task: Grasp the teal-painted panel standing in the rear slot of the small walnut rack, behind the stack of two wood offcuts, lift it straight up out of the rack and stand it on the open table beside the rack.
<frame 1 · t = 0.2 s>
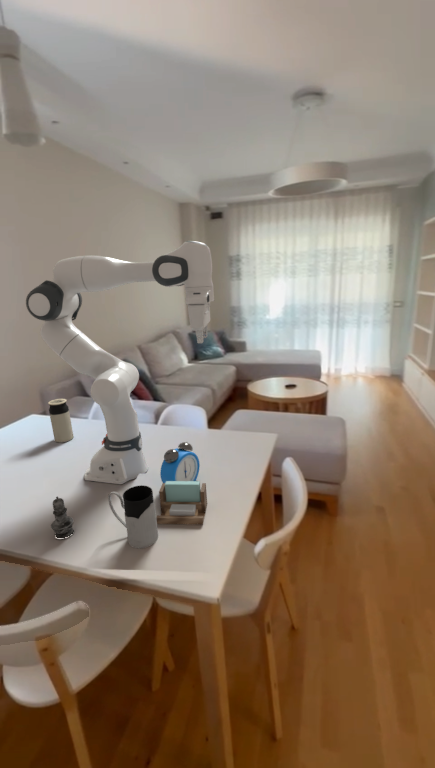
hand: (202, 340, 122), 47 cm above the table, tool pointing down, fingers open, 8 cm apart
panel: (184, 508, 112), point 1 cm above the table, touching rack
oak offcut: (181, 517, 108), point 1 cm above the table, touching grey offcut, rack
dark grey figurine: (64, 534, 106), on the table
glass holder: (135, 540, 102), on the table
travel mug: (64, 439, 170), on the table
grey offcut: (183, 512, 107), point 3 cm above the table, touching oak offcut
rack: (183, 517, 110), on the table
alarm clock: (181, 488, 126), on the table
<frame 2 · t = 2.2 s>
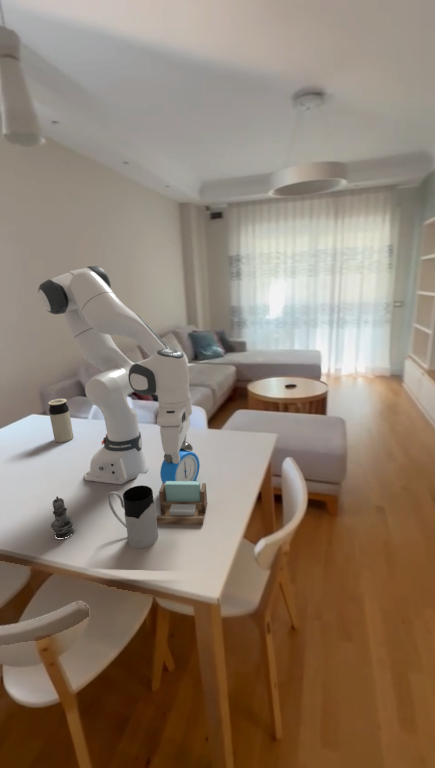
hand: (180, 454, 107), 19 cm above the table, tool pointing down, fingers open, 8 cm apart
nothing on the table moved.
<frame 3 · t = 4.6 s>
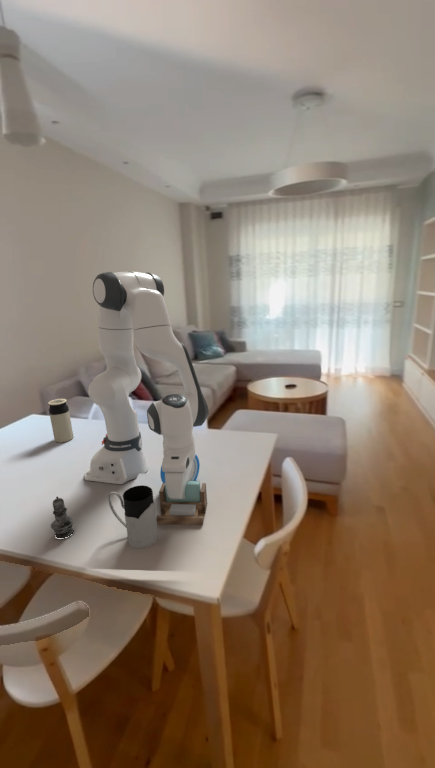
hand: (183, 494, 111), 6 cm above the table, tool pointing down, fingers closed on panel, 2 cm apart
panel: (184, 508, 112), point 2 cm above the table, touching gripper, rack
everything else where it was.
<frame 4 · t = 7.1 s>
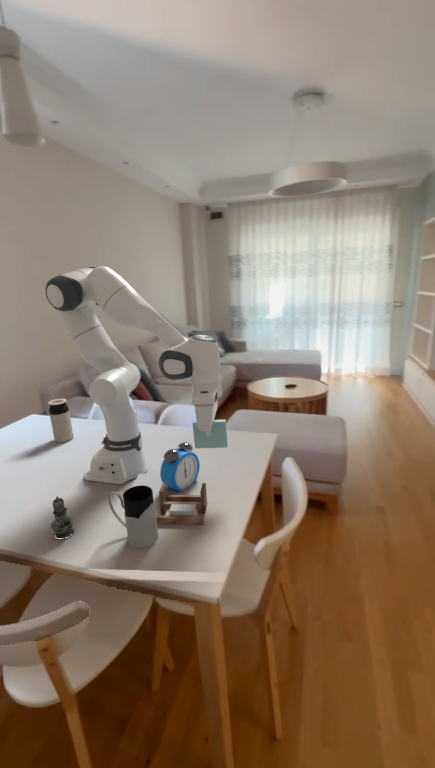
hand: (209, 432, 116), 21 cm above the table, tool pointing down, fingers closed on panel
panel: (211, 446, 117), point 16 cm above the table, touching gripper
everything else where it was.
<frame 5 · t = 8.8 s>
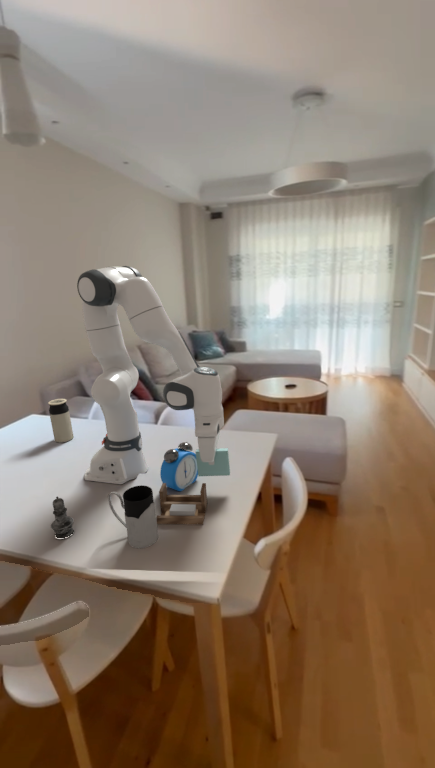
hand: (212, 461, 119), 11 cm above the table, tool pointing down, fingers closed on panel
panel: (214, 474, 120), point 7 cm above the table, touching gripper
everything else where it was.
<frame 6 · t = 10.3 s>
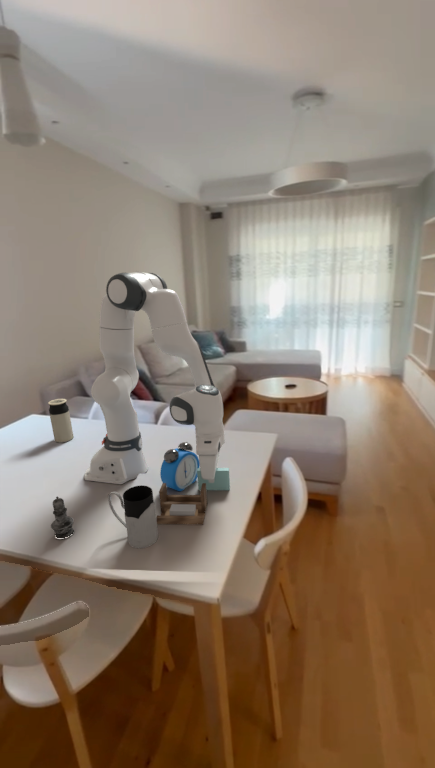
hand: (212, 477, 120), 6 cm above the table, tool pointing down, fingers open, 4 cm apart
panel: (214, 492, 122), on the table
everything else where it was.
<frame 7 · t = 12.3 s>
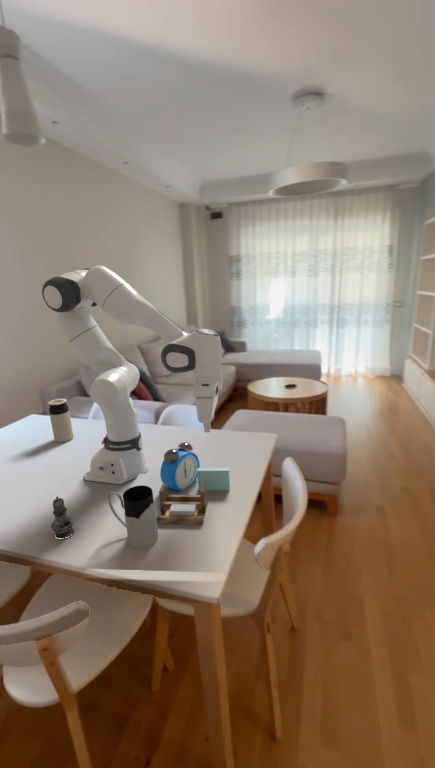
hand: (209, 425, 118), 22 cm above the table, tool pointing down, fingers open, 8 cm apart
nothing on the table moved.
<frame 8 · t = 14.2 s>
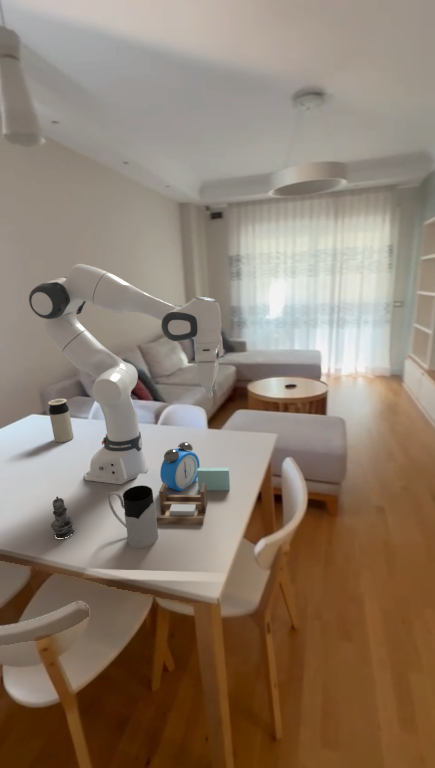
hand: (211, 392, 122), 31 cm above the table, tool pointing down, fingers open, 8 cm apart
nothing on the table moved.
at the end: panel inside the target area (0.2 cm from its centre), on the table; panel touching table; the gripper is holding nothing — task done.
